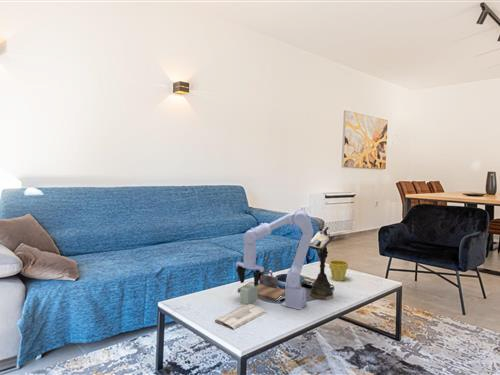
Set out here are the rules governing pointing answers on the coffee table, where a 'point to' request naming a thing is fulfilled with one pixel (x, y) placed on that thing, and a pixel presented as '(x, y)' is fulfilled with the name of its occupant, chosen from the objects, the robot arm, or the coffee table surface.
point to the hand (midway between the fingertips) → (249, 284)
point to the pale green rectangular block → (248, 294)
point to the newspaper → (241, 316)
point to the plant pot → (338, 269)
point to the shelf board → (268, 288)
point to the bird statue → (321, 266)
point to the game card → (265, 274)
